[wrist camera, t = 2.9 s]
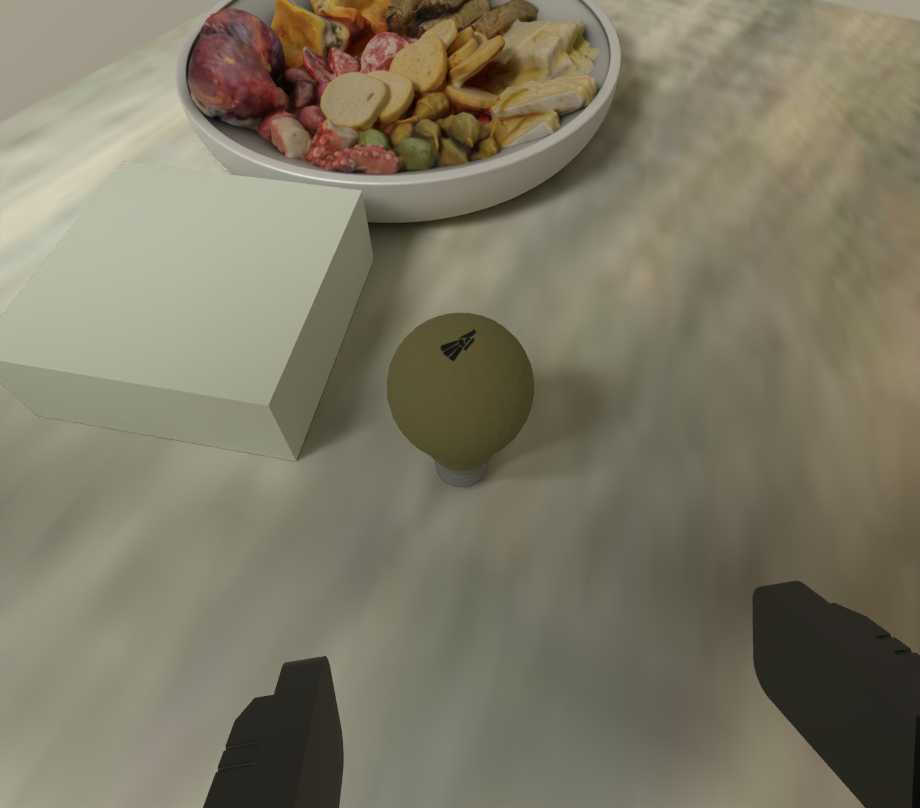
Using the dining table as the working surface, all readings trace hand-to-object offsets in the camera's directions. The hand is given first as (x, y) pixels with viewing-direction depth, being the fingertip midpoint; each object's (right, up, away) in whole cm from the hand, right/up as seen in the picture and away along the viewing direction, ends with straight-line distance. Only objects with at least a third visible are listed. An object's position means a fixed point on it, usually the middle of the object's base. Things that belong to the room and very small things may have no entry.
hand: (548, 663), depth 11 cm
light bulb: (-2, +1, +18) cm, 18 cm away
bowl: (-6, +27, +35) cm, 45 cm away
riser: (-15, +9, +23) cm, 29 cm away
